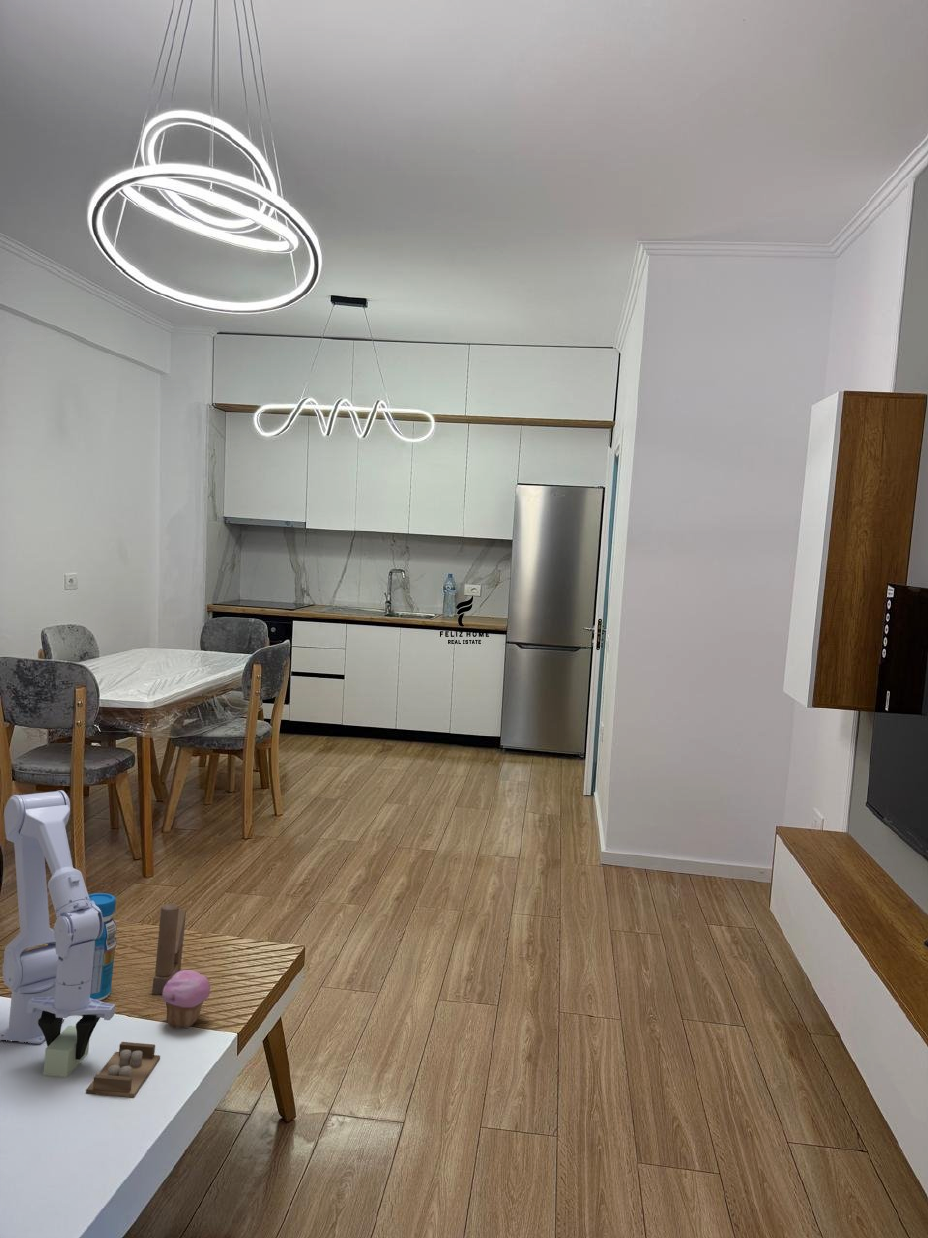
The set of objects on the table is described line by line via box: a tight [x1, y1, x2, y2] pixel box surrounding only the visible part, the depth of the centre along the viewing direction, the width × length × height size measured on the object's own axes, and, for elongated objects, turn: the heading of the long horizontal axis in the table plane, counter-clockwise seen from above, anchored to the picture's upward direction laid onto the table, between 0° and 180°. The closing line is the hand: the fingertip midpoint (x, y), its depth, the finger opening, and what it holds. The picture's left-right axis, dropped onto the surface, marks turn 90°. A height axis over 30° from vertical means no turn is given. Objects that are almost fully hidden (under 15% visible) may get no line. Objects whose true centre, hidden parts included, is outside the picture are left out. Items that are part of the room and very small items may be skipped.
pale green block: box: [42, 1025, 90, 1078], centre depth 146 cm, size 8×4×4 cm, turn 179°
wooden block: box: [151, 903, 187, 995], centre depth 179 cm, size 4×11×18 cm, turn 7°
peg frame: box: [85, 1041, 161, 1098], centre depth 144 cm, size 12×8×3 cm, turn 0°
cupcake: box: [161, 969, 211, 1029], centre depth 163 cm, size 9×9×10 cm
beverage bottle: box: [88, 892, 118, 1001], centre depth 171 cm, size 8×8×20 cm
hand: (66, 1055), depth 146 cm, fingers closed on pale green block, 4 cm apart
